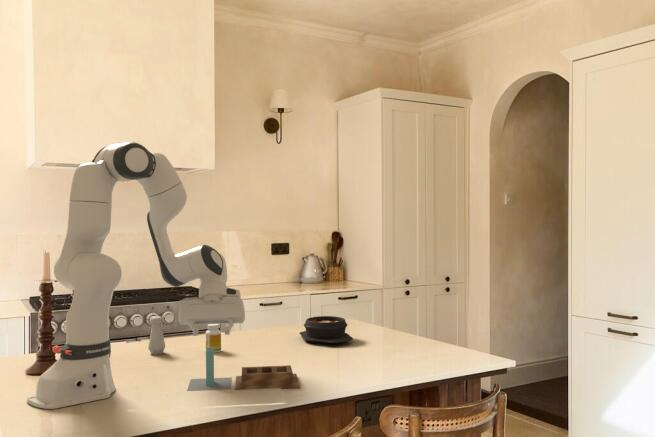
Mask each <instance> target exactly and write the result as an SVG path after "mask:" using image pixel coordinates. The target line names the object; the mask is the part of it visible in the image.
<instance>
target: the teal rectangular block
mask: <svg viewBox="0 0 655 437" xmlns="http://www.w3.org/2000/svg"><path fill="white" fill-rule="evenodd" d="M214 378H215V353H214V348H207V349H206V348H205V379H206V386H213V385H214Z"/></svg>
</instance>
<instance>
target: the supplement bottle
mask: <svg viewBox="0 0 655 437" xmlns="http://www.w3.org/2000/svg"><path fill="white" fill-rule="evenodd" d="M219 328H220V324H207V330H206V331H205V350H206V349H207V348H214V354H217V353H220V352H221V351H222V331H221V330H220V329H219Z"/></svg>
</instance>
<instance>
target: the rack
mask: <svg viewBox="0 0 655 437" xmlns="http://www.w3.org/2000/svg"><path fill="white" fill-rule="evenodd" d="M300 384H301V383H300V380H299V378H298V374H297V373H293V369H292V366H291V365H290V364H288V365H268V366H267V365H266V366H264V365H263V366H244V367H241V375H235V385H234V390H235V391H240V390H261V389H262V390H263V389H264V390H265V389H280V390H286V389H287V390H289V389H291V390H292V389H300V388H301V385H300Z"/></svg>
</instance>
